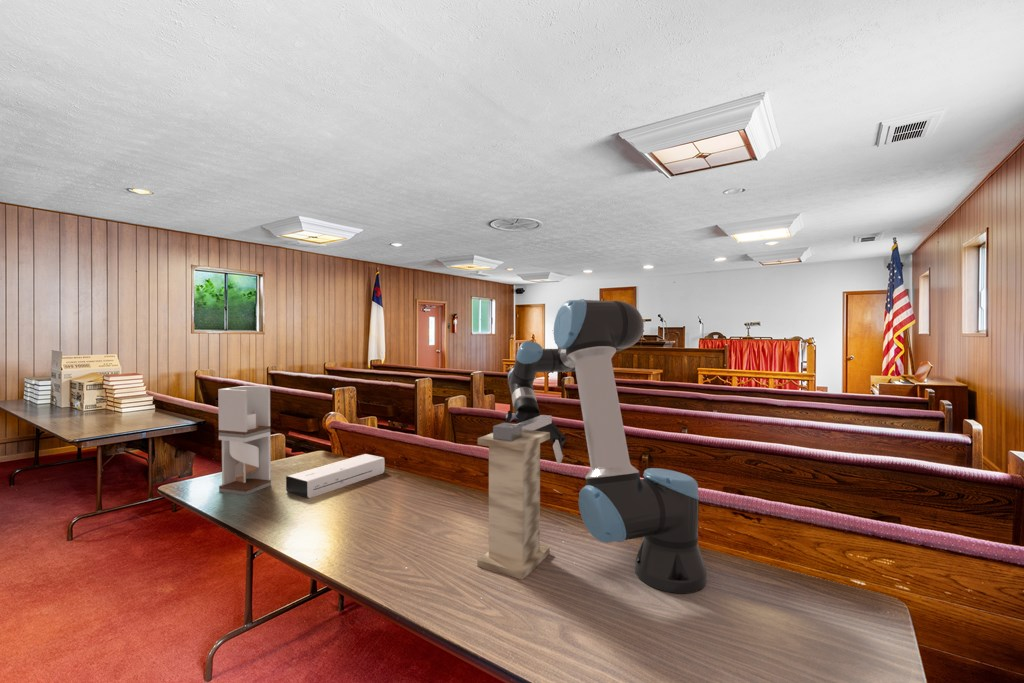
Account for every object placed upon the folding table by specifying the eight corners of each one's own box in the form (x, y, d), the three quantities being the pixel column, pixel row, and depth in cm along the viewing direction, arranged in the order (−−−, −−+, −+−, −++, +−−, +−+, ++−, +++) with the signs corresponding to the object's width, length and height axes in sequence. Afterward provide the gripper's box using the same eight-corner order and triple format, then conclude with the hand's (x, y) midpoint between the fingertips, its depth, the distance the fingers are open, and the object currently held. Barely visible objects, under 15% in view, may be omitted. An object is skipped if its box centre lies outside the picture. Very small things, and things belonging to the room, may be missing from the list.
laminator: (306, 500, 152) (306, 481, 152) (284, 493, 158) (284, 475, 158) (385, 473, 181) (384, 457, 181) (363, 468, 188) (363, 453, 187)
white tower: (219, 491, 159) (218, 389, 158) (245, 482, 169) (244, 385, 168) (245, 495, 155) (244, 390, 155) (270, 485, 166) (270, 387, 165)
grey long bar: (538, 421, 128) (539, 410, 128) (554, 423, 126) (555, 412, 126) (493, 439, 107) (493, 426, 107) (511, 441, 105) (511, 428, 105)
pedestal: (507, 542, 121) (507, 427, 120) (549, 553, 115) (550, 432, 114) (477, 566, 109) (477, 438, 108) (522, 579, 103) (523, 444, 102)
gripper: (557, 418, 151) (573, 471, 134) (483, 408, 144) (490, 462, 127) (566, 401, 147) (583, 453, 130) (490, 390, 140) (498, 443, 123)
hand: (537, 458), depth 128 cm, fingers open, 13 cm apart
